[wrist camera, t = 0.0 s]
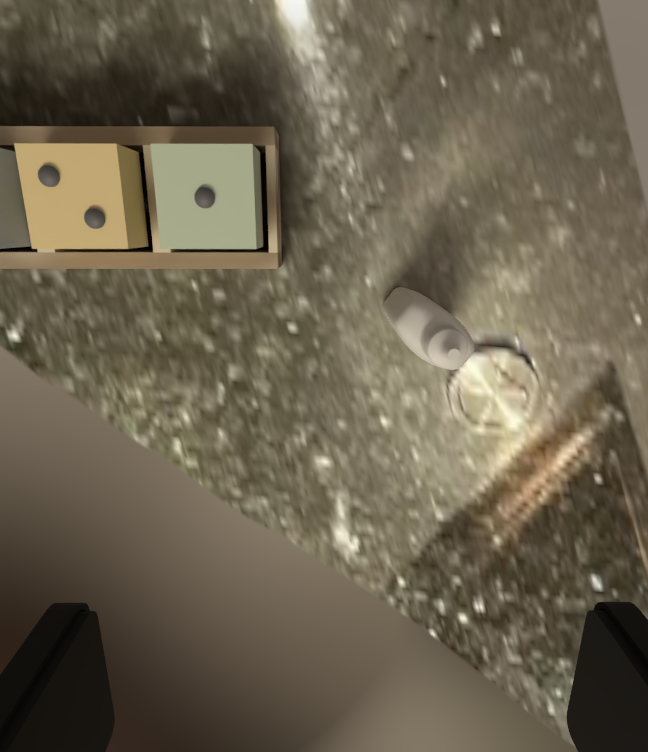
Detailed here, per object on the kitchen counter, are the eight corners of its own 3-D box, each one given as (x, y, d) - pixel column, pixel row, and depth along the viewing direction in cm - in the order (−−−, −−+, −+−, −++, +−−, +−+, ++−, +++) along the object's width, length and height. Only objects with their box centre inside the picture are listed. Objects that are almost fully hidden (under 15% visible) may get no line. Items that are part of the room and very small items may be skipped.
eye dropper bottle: (427, 271, 38) (473, 292, 26) (453, 336, 39) (507, 381, 28) (376, 295, 38) (398, 326, 27) (403, 358, 40) (435, 412, 28)
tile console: (-57, 135, 35) (-99, 125, 31) (279, 136, 35) (274, 126, 32) (-31, 264, 38) (-66, 268, 34) (282, 264, 38) (277, 268, 34)
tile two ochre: (47, 152, 32) (11, 142, 28) (138, 152, 32) (114, 143, 29) (62, 246, 34) (30, 249, 30) (148, 246, 34) (127, 249, 30)
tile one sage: (169, 152, 32) (149, 143, 29) (260, 152, 32) (252, 143, 29) (177, 246, 34) (159, 249, 30) (263, 246, 34) (256, 249, 30)
